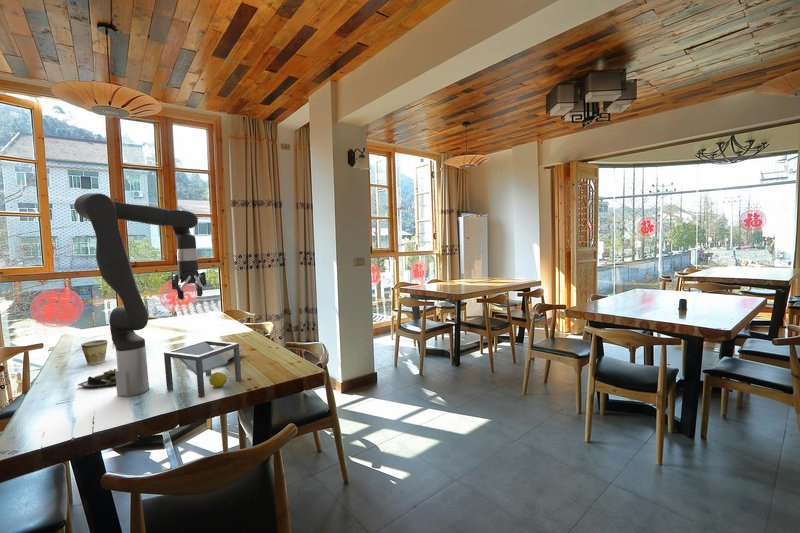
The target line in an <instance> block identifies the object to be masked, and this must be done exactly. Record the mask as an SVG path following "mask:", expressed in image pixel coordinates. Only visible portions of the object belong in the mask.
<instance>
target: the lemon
mask: <svg viewBox="0 0 800 533" xmlns="http://www.w3.org/2000/svg"><path fill="white" fill-rule="evenodd" d="M208 382H209V384H210V386H212V387H214V388H221V387H224V386H225V385H226V384H227V382H228V377H227V374H225V373H223V372H221V371H216V372H213V373H211V375H210V376H209V379H208Z"/></svg>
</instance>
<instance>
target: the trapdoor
mask: <svg viewBox="0 0 800 533" xmlns="http://www.w3.org/2000/svg"><path fill="white" fill-rule="evenodd" d="M211 351H214V349H213V346H212V345H209V344H208V343H206V342H203V343H199V344H196V345H193V346H190V347H186V348H183V349H180V350H176V351H174V352H176V353H184V354H192V355H202V354H205V353H208V352H211ZM179 360H180V362H182V363H183V364H184V365H185V366H186V367H187V368H188V369H189V370H190V371H191V372H193V374H194V375H196V376H197V372H196V361H194V360H187V359H179ZM228 363H229V360H228V361H227V360H226V359H225V358H223V357H222V356H221V355H220V354H217V355H214V356H212V357H209V358H206V359H203V360H202V364H203V374H204V373H206V372H207V371H210V370H211V371H213V370H214V369H217V368H220V367H223V366H224V365H227V364H228Z"/></svg>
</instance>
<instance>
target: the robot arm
mask: <svg viewBox="0 0 800 533" xmlns="http://www.w3.org/2000/svg"><path fill="white" fill-rule="evenodd" d="M73 207H74V210H75V212H76V213H77V214H78V215H79V216H81V217H82V218H84V219H87V220H89V221H90V223H91V225H92V228H93V230H94V234H95V240H96V242H95V243H96V244H95V245H96V246H95V260H96V263H97V267H98V271H99V273H100V276H101V277H102V279H103V281H104V282H105V283H106V284H107V285H108V286H109V287H111V289H112V290H113V291H114V292H115V293H116V294H117V295H118V297H119V298H120V300H121V302H122V305H119V306H116V307H115V308H114V309H112V310H111V312H110V315H109V329H110V334H111V341H112V343H113V345H114V346H115V354H116V366H117V369H118V370H116V371H115V376H116V386H115V387H116V395H117V396H120V397H123V398H124V397H126V398H128V397H132V396H137V395H140V394H143V393H145V392H147V391H149V390H150V385H149V384H150V382H149V373H148V362H147V348H146V341H145V340H146V339H145V338H144V337H142V336H140V335H139V334H137V333H136V332H135V331H140V330H143V329H144V328H146V327H147V325H148V322H149V313H148V310H147V307H146V305H145V302H144V300H143V298H142V296H141V294H140V291H139V288H138V285H137V283H136V279H135V276H134V274H133V269H132V265H131V262H130V259H129V255H128V253H127V251H126V250H127V249H126V246H125V243H124V240H123V237H122V234H121V229H120V226H119V220H123V221H129V222H135V223H141V224H146V225H151V226H152V225H153V226H159V227H170V226H171V227H172V230H173V232H174V235H175V238H176V249H177V250H176V251H177V252H176V257H177V258H176V259H177V269H178V270H177V271H178V272H179V273H178V274H172V275H171V289H172V290H175V291H176V293H177V298H178V299H179V301H180V300H181V301H182V300H184V299H185V297H184V289H185V287H186V286H187V285H190V284H193V285H195V287H196V296H197V297H202V296H203V287H205V286H207V279H206V272H205V271H199V269H200V268H199V259H198V250H197V240H196V236H195V235H193V234H191V230H190V229H193V228H195V227H197V225H198V223H199V219H198V216H197V215H196V214H195V213H194V212H192V211H189V210H180V209H179V210H178V209H169V208H165V207H158V206H153V205H143V204H132V203H126V202H120V201H114V200H113V199H112V198H111V197H109V196H108V195H107V194H104V193H97V192H95V193H93V192H90V193H89V192H88V193H84V194H81V195H80V196H78V197H77V198H76V199H75V201H74V204H73Z"/></svg>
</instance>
